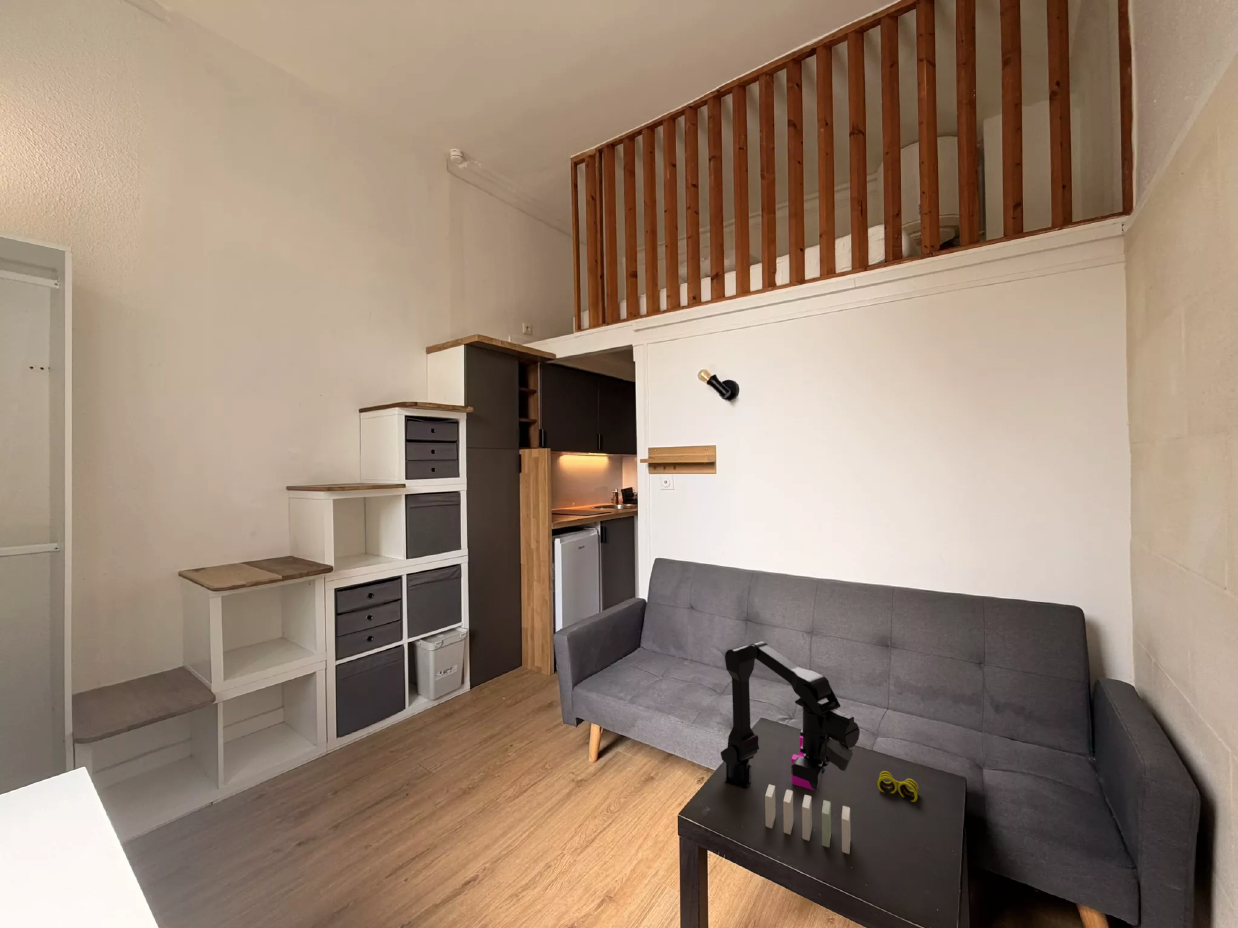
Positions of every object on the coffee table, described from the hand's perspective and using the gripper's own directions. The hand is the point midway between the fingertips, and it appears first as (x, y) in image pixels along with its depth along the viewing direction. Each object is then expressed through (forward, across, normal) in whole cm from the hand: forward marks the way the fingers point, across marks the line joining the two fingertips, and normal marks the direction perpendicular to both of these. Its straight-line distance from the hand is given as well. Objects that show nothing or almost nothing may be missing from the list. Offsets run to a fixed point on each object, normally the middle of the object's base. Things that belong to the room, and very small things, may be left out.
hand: (814, 788), depth 123 cm
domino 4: (+12, +1, -7) cm, 14 cm away
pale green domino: (+12, 0, -3) cm, 12 cm away
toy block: (+12, +24, +9) cm, 29 cm away
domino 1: (+12, -2, +11) cm, 16 cm away
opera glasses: (+12, +30, -15) cm, 35 cm away
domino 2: (+12, -1, +6) cm, 13 cm away
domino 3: (+12, 0, +2) cm, 12 cm away
